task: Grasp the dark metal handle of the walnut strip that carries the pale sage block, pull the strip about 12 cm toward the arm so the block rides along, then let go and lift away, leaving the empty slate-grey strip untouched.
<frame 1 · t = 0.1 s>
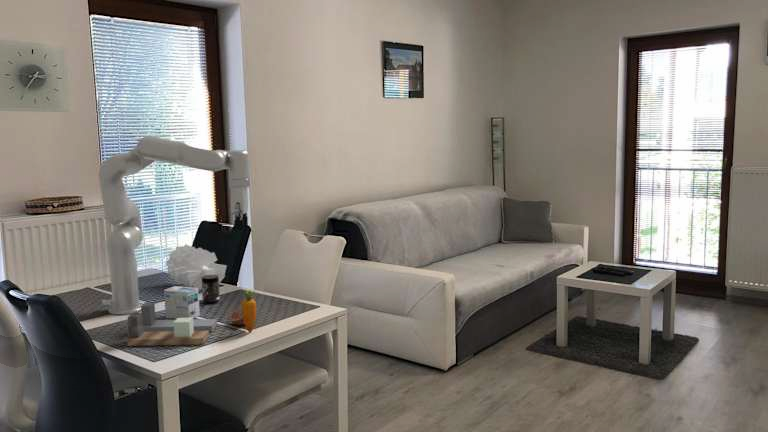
hand: (241, 228, 248), 31 cm above the table, fingers open, 9 cm apart
supplement container: (211, 302, 262), on the table
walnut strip: (168, 327, 213), point 5 cm above the table, slide at 0.0 cm, touching sage block
sage block: (184, 334, 214), point 2 cm above the table, touching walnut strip
fruit slice: (240, 325, 232), on the table
light bulb box: (182, 317, 242), on the table
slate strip: (179, 316, 226), point 5 cm above the table, slide at 0.0 cm
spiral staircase: (196, 287, 286), on the table
carrot: (250, 332, 223), on the table
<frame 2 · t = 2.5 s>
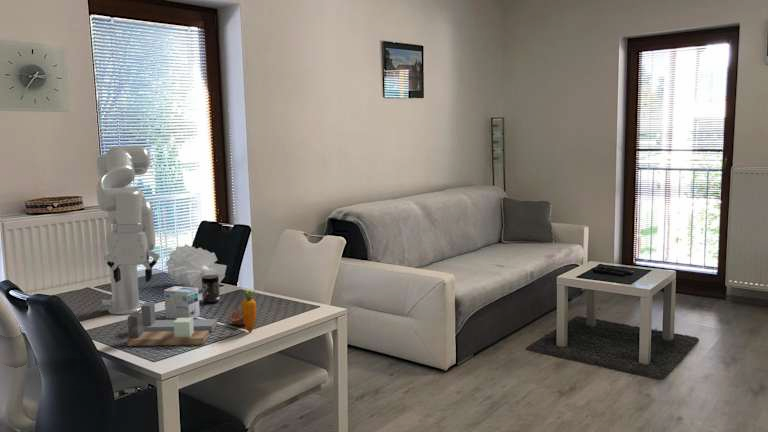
hand: (133, 281, 211), 20 cm above the table, fingers open, 9 cm apart
nothing on the table moved.
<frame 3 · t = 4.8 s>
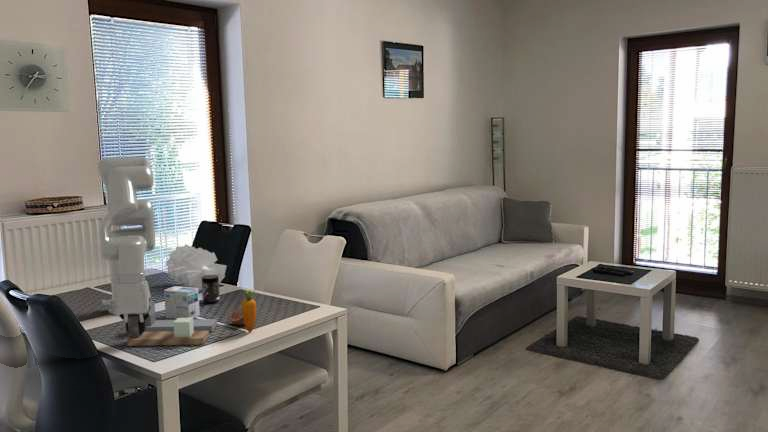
hand: (136, 332, 213), 3 cm above the table, fingers closed on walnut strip, 3 cm apart
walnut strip: (168, 327, 213), point 5 cm above the table, slide at 0.0 cm, touching gripper, sage block
everything else where it was.
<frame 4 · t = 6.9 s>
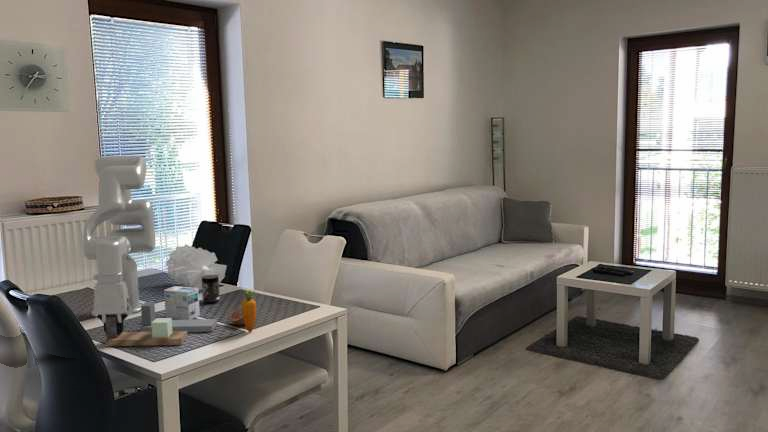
hand: (114, 333, 213), 3 cm above the table, fingers closed on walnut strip, 3 cm apart
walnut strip: (146, 328, 213), point 5 cm above the table, slide at 7.0 cm, touching gripper, sage block
sage block: (162, 335, 214), point 2 cm above the table, touching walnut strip
everything else where it was.
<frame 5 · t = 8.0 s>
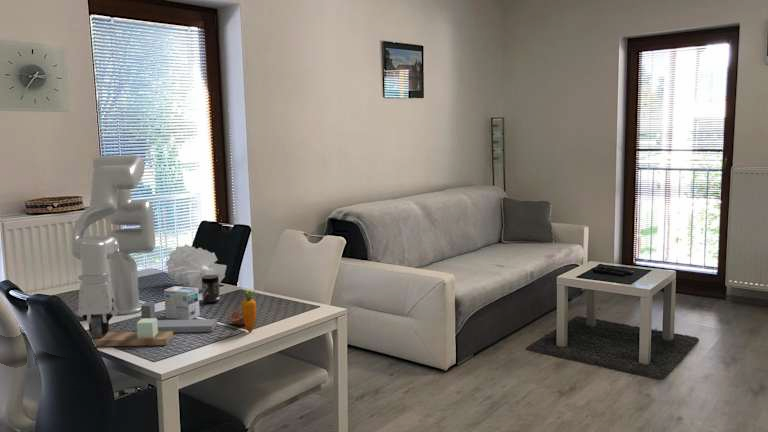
hand: (99, 333, 213), 3 cm above the table, fingers closed on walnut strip, 3 cm apart
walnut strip: (131, 328, 213), point 5 cm above the table, slide at 11.8 cm, touching gripper, sage block
sage block: (147, 335, 213), point 2 cm above the table, touching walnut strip
everything else where it was.
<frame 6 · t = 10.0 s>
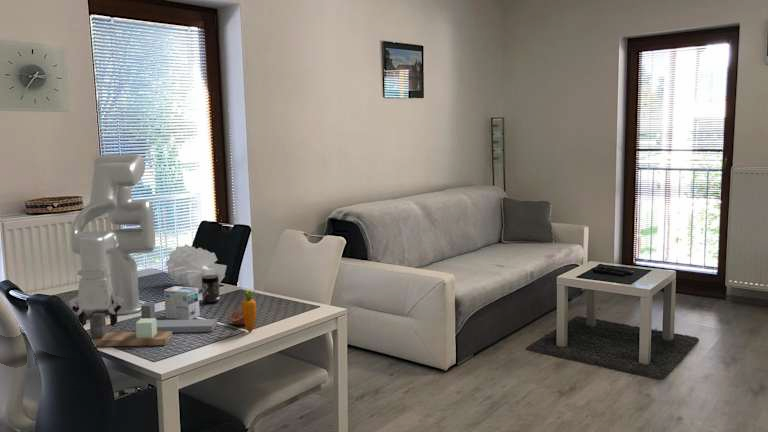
hand: (98, 325, 213), 6 cm above the table, fingers open, 9 cm apart
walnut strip: (130, 328, 213), point 5 cm above the table, slide at 12.0 cm, touching sage block
everything else where it was.
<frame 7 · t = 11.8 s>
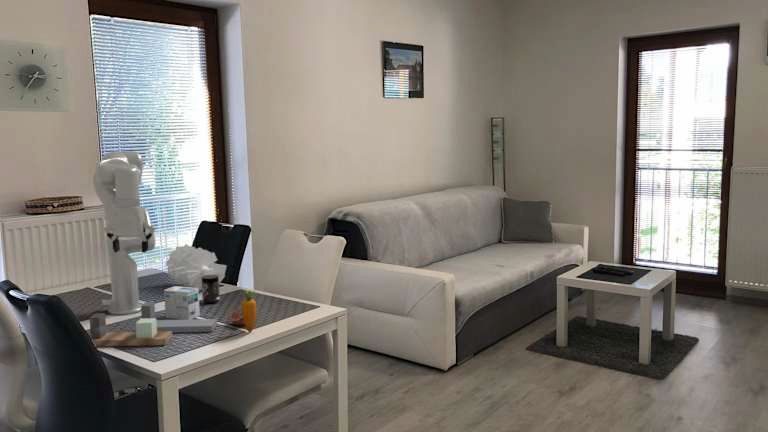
hand: (131, 251, 227), 27 cm above the table, fingers open, 9 cm apart
nothing on the table moved.
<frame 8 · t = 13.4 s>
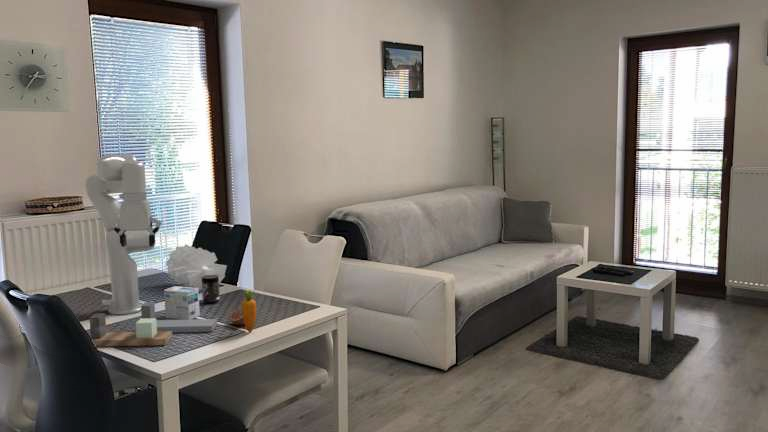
hand: (137, 245, 229), 28 cm above the table, fingers open, 9 cm apart
nothing on the table moved.
at the end: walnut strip slide at 12.0 cm; sage block inside the target area (0.2 cm from its centre), point 2.2 cm above the table; sage block tilted 0° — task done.
